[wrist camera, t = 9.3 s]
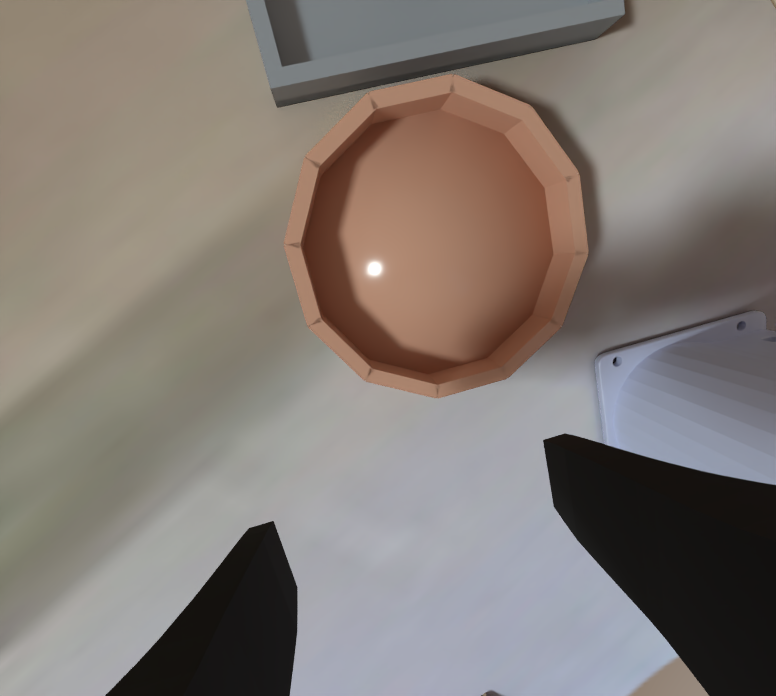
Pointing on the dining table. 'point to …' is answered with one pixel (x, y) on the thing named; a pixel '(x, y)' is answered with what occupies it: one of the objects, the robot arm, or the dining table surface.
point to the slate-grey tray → (407, 38)
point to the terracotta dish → (437, 236)
